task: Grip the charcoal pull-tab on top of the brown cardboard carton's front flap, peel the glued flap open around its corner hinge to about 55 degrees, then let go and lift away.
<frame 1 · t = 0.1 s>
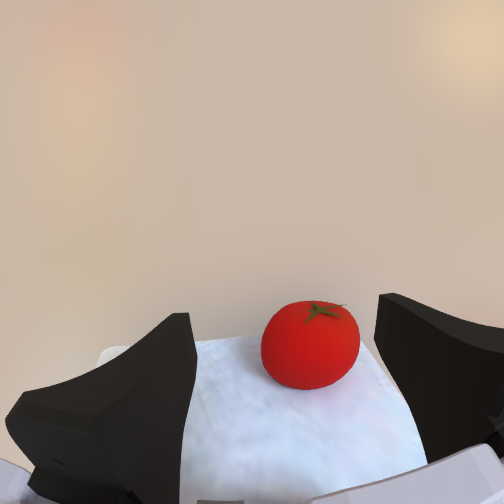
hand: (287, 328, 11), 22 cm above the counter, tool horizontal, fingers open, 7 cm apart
tomato: (310, 377, 40), on the counter
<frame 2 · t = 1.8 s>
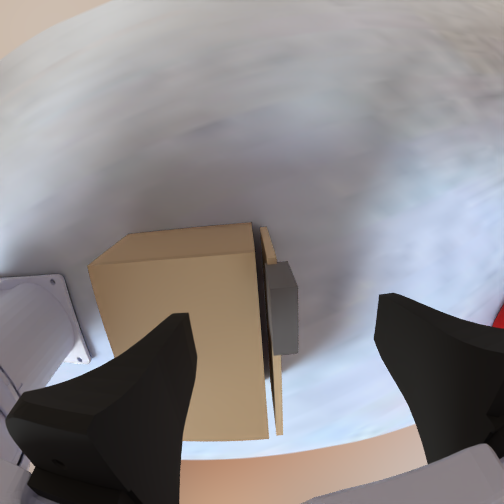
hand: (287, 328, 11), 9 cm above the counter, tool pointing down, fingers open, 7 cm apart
carton: (200, 317, 21), on the counter
carton flap: (278, 348, 17), point 4 cm above the counter, hinge at 0.0°
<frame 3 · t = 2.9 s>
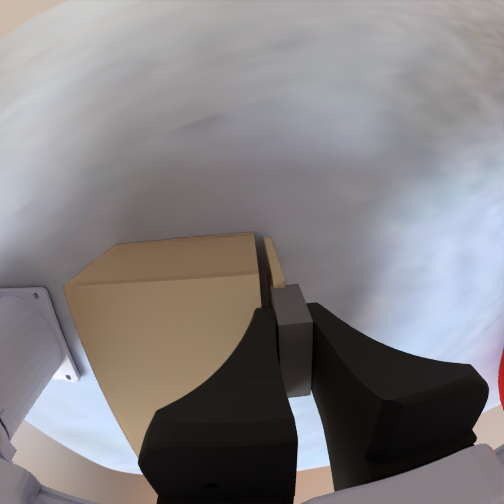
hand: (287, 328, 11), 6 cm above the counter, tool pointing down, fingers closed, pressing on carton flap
carton: (196, 336, 18), on the counter
carton flap: (284, 377, 14), point 4 cm above the counter, hinge at 0.0°, touching gripper
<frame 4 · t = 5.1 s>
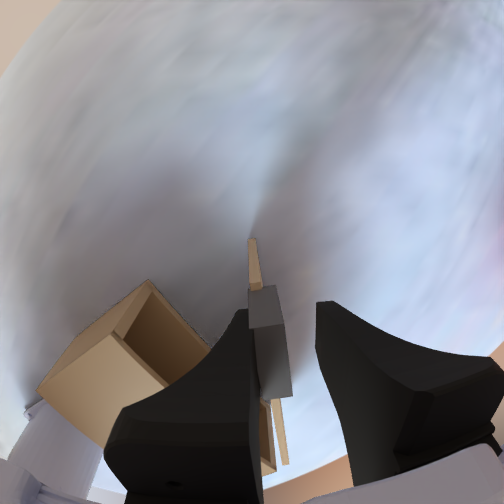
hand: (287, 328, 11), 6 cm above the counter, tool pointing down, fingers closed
carton: (171, 377, 19), on the counter
carton flap: (276, 377, 14), point 4 cm above the counter, hinge at 26.9°, touching gripper
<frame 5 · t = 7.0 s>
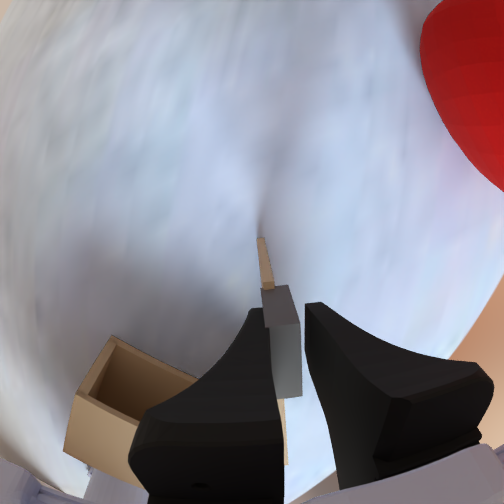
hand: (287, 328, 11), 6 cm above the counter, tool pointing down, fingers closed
carton: (173, 408, 20), on the counter
tomato: (472, 99, 14), on the counter
carton flap: (280, 377, 14), point 4 cm above the counter, hinge at 53.0°, touching gripper
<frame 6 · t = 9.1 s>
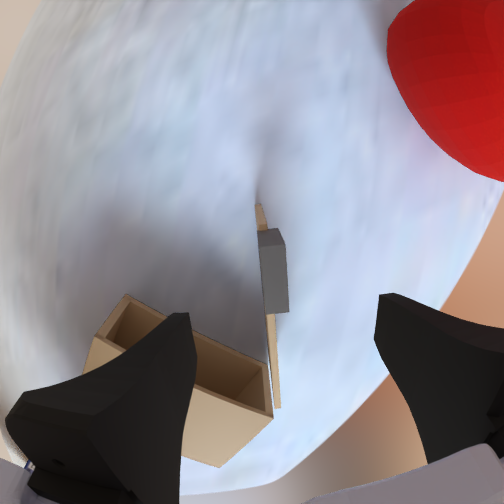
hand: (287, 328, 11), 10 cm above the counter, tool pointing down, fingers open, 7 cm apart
carton: (177, 365, 24), on the counter
tomato: (439, 90, 18), on the counter
carton flap: (273, 318, 18), point 4 cm above the counter, hinge at 53.6°
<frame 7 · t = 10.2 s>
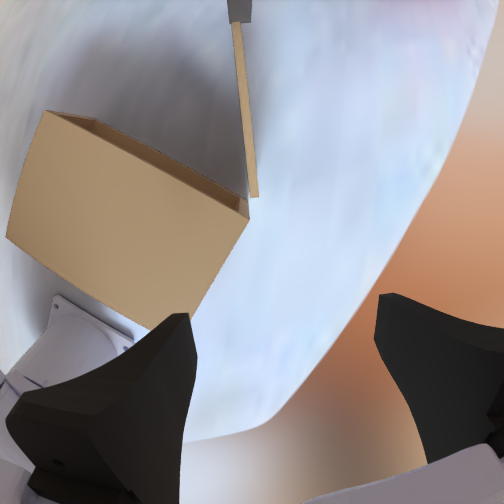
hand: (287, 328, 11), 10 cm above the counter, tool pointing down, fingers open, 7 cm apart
carton: (138, 207, 20), on the counter
carton flap: (245, 78, 14), point 4 cm above the counter, hinge at 53.6°
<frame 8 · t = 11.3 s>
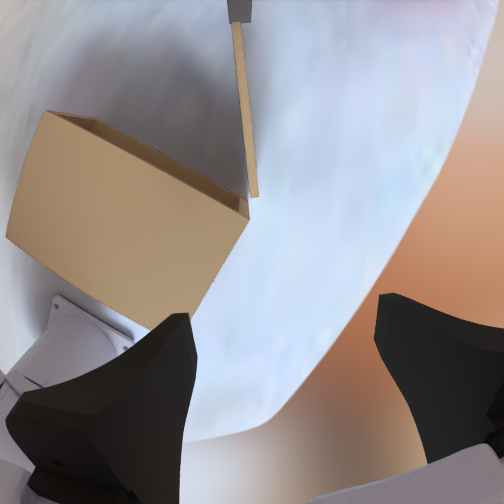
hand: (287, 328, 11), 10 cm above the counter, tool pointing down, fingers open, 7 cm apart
carton: (138, 207, 20), on the counter
carton flap: (245, 78, 14), point 4 cm above the counter, hinge at 53.6°
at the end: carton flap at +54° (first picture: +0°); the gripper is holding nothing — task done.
